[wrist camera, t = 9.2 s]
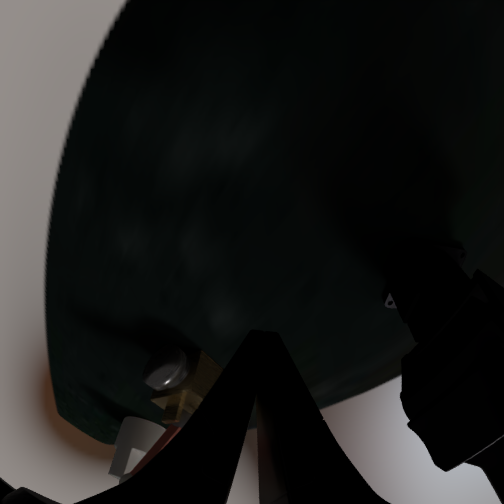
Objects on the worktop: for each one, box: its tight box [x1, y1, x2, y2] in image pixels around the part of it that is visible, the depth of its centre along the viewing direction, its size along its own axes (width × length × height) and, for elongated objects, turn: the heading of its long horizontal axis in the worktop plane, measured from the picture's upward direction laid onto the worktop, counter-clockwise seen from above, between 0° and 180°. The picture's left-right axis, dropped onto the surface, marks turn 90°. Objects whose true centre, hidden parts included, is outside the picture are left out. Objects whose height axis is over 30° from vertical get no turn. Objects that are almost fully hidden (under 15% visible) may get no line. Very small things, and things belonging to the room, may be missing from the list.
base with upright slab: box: [108, 416, 166, 480], centre depth 35 cm, size 9×9×12 cm
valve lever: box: [119, 409, 192, 484], centre depth 21 cm, size 3×3×12 cm
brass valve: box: [143, 344, 224, 424], centre depth 26 cm, size 6×10×8 cm, turn 34°
